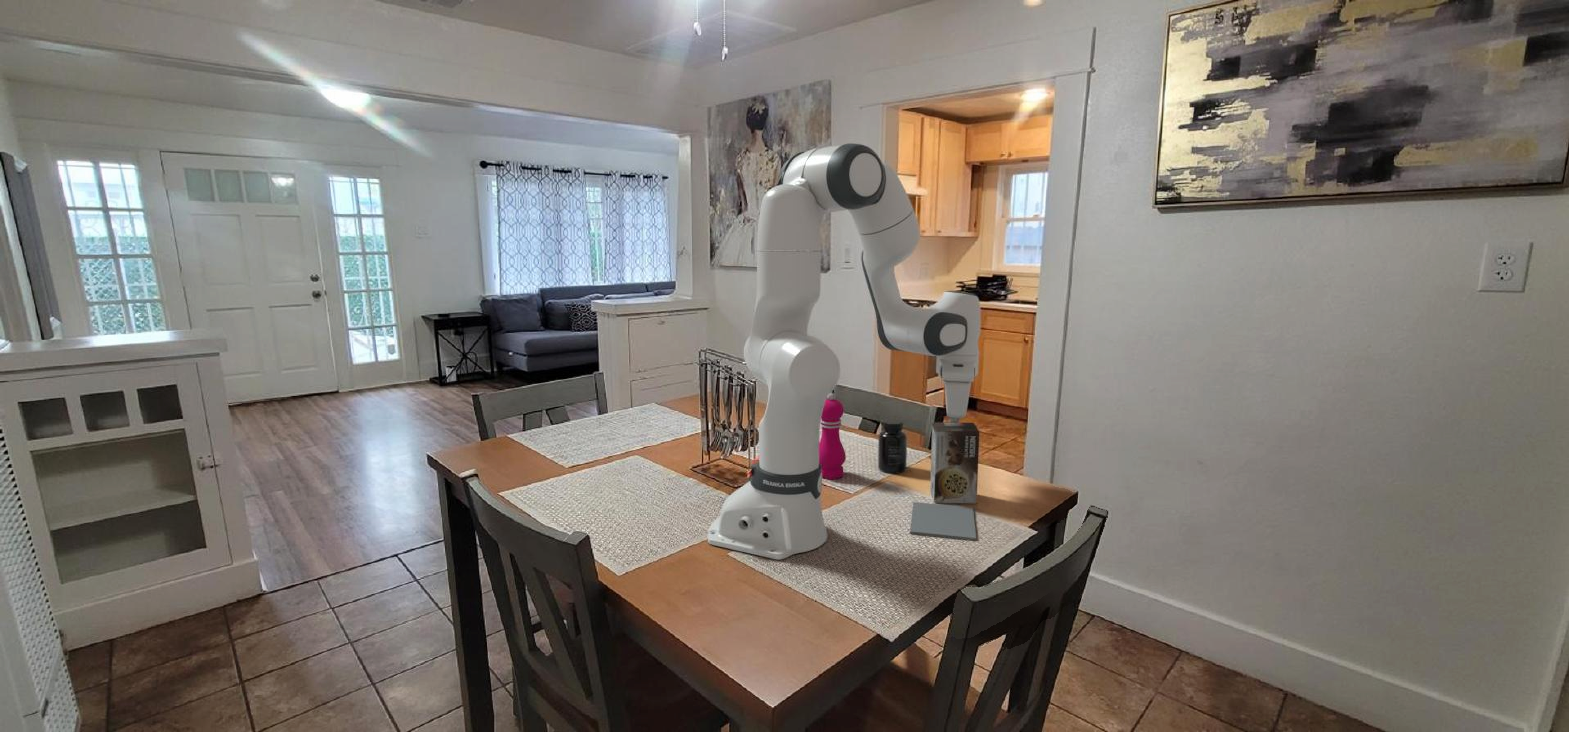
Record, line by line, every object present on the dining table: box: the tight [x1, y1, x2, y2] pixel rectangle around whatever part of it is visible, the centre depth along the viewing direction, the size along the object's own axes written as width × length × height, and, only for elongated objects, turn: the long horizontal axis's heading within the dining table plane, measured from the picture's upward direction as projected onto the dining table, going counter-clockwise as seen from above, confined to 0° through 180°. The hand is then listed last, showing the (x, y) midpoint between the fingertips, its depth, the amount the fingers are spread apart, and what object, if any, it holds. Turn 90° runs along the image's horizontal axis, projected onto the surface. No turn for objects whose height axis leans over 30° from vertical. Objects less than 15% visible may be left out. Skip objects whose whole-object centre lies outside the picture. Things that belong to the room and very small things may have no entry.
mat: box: [909, 501, 977, 541], centre depth 123 cm, size 12×14×1 cm
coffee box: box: [929, 421, 980, 505], centre depth 133 cm, size 9×6×16 cm
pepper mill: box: [819, 392, 847, 480], centre depth 147 cm, size 7×7×20 cm
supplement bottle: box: [877, 418, 908, 474], centre depth 151 cm, size 7×7×12 cm
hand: (954, 427), depth 138 cm, fingers closed
